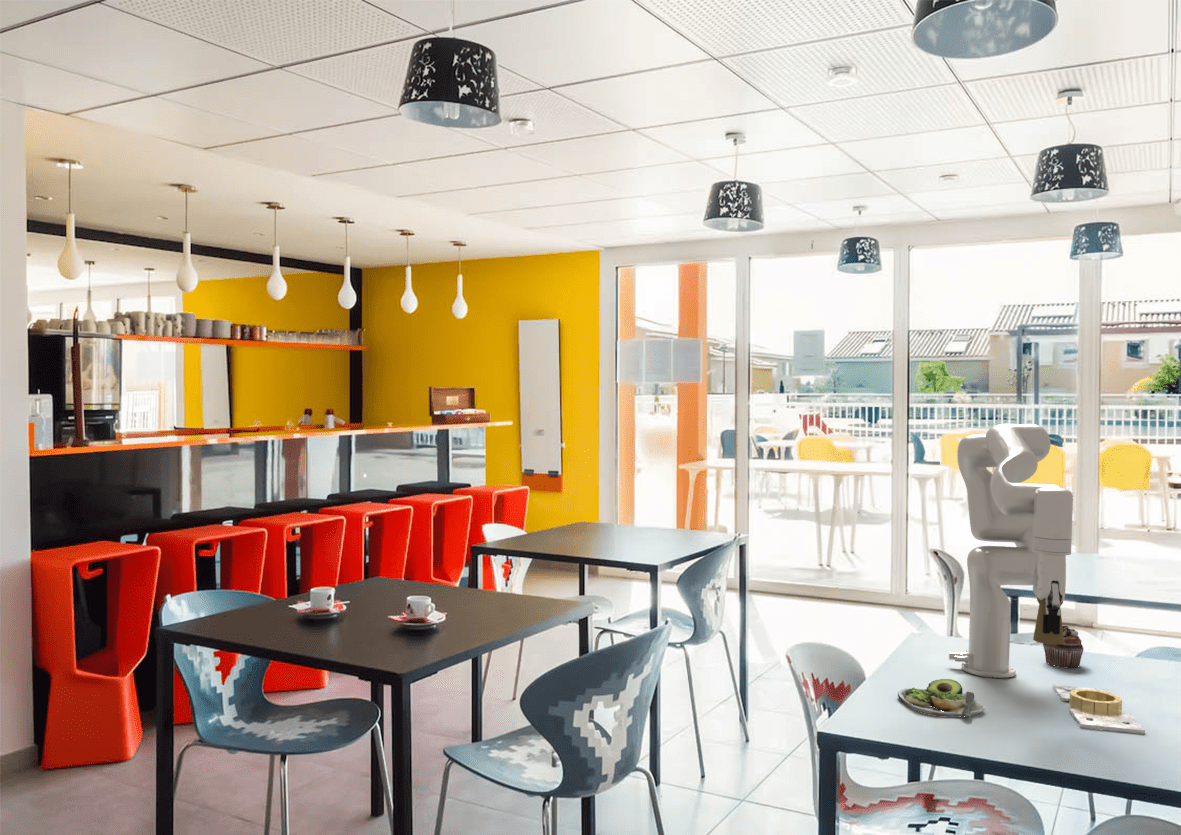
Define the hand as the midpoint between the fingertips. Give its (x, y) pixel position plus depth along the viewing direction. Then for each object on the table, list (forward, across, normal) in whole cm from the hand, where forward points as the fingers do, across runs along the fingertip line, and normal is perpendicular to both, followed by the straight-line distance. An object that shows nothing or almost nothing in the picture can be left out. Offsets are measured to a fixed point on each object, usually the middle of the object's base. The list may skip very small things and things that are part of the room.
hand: (1048, 630), depth 207 cm
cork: (+2, 0, 0) cm, 2 cm away
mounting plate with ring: (+19, -11, +12) cm, 25 cm away
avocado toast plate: (+20, -2, -21) cm, 29 cm away
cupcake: (+20, -51, +13) cm, 56 cm away
